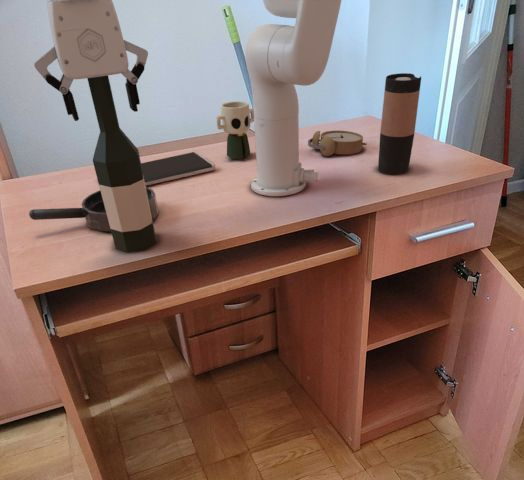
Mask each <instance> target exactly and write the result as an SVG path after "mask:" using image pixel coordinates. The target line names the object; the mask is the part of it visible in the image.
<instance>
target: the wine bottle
mask: <svg viewBox="0 0 524 480" xmlns="http://www.w3.org/2000/svg"><path fill="white" fill-rule="evenodd" d="M86 80H87V83H88V87H89V91H90V94H91V99H92V103H93V107H94V111H95V117H96V121H97V124H98V129H99V134H98V138H97V142H96V146H95V149H94V153H93V157H92V163H93V164H92V165H93V167H94V171H95V175H96V179H97V183H98V186H99V191H101V194H102V198H103V202H104V206H105V210H106V214H107V217H108V221H109V225H110V229H111V232H110V234H111V237H112V240H113V245H114V247H115V250H118V251H122V252H125V253H135V252H142V251H146V250H148V249H149V248H151V247H152V246H153V245H156V244H157V235H156V231H155V226H154V221H153V220H152V216H151V211H150V206H149V201H148V196H147V191H146V187H147V186H145V181H144V176H143V171H142V166H141V163H142V161H141V157H140V151H139V149H138V147H137V146H136V145H135V144H134V143H133V142H132V140H131V139H130V138H129V137H128V136H127V135H126V133H125V132H124V131H123V129H121V126H120V123H119V118H118V115H117V109H116V105H115V101H114V100H115V99H114V96H113V90H112V87H111V81H110V78H109V75H108V76H100V77H93V78H86Z"/></svg>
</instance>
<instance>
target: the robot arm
mask: <svg viewBox="0 0 524 480" xmlns="http://www.w3.org/2000/svg"><path fill="white" fill-rule="evenodd" d="M262 2H263V5H264V8H265V9H266V10H267V12H268V13H270V14H271V15H273V16H276V17H280V18H284V19H285V18H287V19H295V24H294V25H288V24H279V23H278V24H276V23H275V24H274V23H271V24H270V23H269V24H264V25H260V26H258V27H257V28H255V29H253V31H252V32H251V33H250V35H248V38H247V41H246V44H245V48H244V49H245V51H244V59H245V66H246V70H247V75H248V77H249V82H250V89H251V96H252V107H253V108H252V109H253V110H254V122H253V125H254V126H253V127H254V142H255V143H254V144H255V159H256V177H254V178H253V179H252V180H251V182H250V187H251V190H252V191H253V192H254V193H256V194H258V195H262V196H265V197H286V196H290V195H294V194H297V193H299V192H302V191H303V190H304V189H305V187H306V186H307V181H308V182H319V172H318V171H315V169H305V168H303V167H302V166H303V165H302V164H303V163H302V162H300V146H299V145H300V142H299V139H300V131H299V130H300V128H299V127H300V126H299V122H300V121H299V113H300V111H299V109H300V108H299V105H300V104H299V98H298V93H297V89H296V87H295V86H303V87H306V86H311V85H313V84H315V83H317V82H318V81H319V80H320V79H321V78H322V76H323V74H324V72H325V70H326V67H327V65H328V63H329V62H328V61H329V58H330V55H331V49H332V45H333V41H334V36H335V32H336V28H337V23H338V18H339V14H340V10H341V5H342V0H262ZM46 6H47V15H48V20H49V26H50V32H51V36H52V42H53V46H52V47H51V48H50V49H49V50H48V51H46V53H44V54H43V55H42V56H41V57H39V58H38V59H37V60H35V62H34V64H33V65H34V68H35V70H36V71H37V72H38V73H39V75H40V76H41V77H42V78H43V79H44V81H46V83H47V84H48V85H50V86H51V87H52V88H54V89H55V90H56V91H58V92H59V93H60V94H61V96H62V99H63V102H64V106H65V109H66V113H67V115H68V116H70V115H71V116H72V118H73V120H74V122H78V121H79V120H80V117H79V114H78V110H77V107H76V102H75V97H74V95H73V93H72V91H71V90H70V88H71V85H72V84H73V82H74V80H84V79H87V78H93V77H100V76H108V77H109V76H113V75H120V74H121V75H122V76H123V77H124V78H125V83H124V85H125V90H126V94H127V101H128V104H129V109H131V110H132V111H133V112H134V113H137V112H138V111H139V110H138V109H139V108H138V105H140V104H141V102H140V97H139V91H138V86H137V84H138V82H139V79H140V78H141V76H142V75H143V73H144V71H145V67H146V64H147V60H148V56H149V52H148V50H146V49H145V48H143V47H141V46H139V45H137V44H135V43H132V42H129V41H127V40H125V39H124V37H123V32H122V28H121V25H120V21H119V18H118V15H117V10H116V8H115V5H114V2H113V0H47V1H46ZM127 52H129V53H131V54H133V55H135V56H136V62H135V63H134V66H133V67H132V69H131V70H130V69H129V59H128V53H127ZM56 60H57V63H58V65H59V68H60V70H61V72H62V74H61V78H60V80H59V79H58V78H57V77H55V76H54V75H52V73H51V72H50V71H49V70H48V67H49V66H50V65H51V64H52V63H53V62H55V61H56Z"/></svg>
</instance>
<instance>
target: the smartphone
mask: <svg viewBox="0 0 524 480" xmlns="http://www.w3.org/2000/svg"><path fill="white" fill-rule="evenodd" d="M141 166H142V171H143V176H144V181H145V186H146V187H147V186H152V185H155V184H160V183H164V182H169V181H173V180H178V179H181V178H187V177H190V176H196V175H198V174H203V173H204V174H205V173H208V172H212V171H214V170H215V169H216V165H215V163H213V162H211V161H210V160H209V159H207V157H206V158H205V157H204V156H203V155H201V154H200V153H198V152H197V151H192V152H187V153H182V154H178V155H174V156H168V157H164V158H160V159H155V160H149V161H145V162H141Z"/></svg>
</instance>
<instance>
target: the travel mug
mask: <svg viewBox="0 0 524 480" xmlns="http://www.w3.org/2000/svg"><path fill="white" fill-rule="evenodd" d="M421 83H422V76H421V75H420V76H419V77H417V76H415V74H414V73H411V72H410V73H407V72H403V73H393V74H388V75H386V77H385V83H384V92H383V101H382V102H383V103H382V112H381V120H380V121H381V123H380V131H379V132H380V133H379V147H378V162H377V164H378V166H377V170H378V172H379V173H381V174H384V175H388V176H398V175H404V174H406V173H408V171H409V168H410V161H411V157H412V150H413V144H414V138H415V132H416V124H417V117H418V109H419V102H420V101H419V99H420V92H421Z"/></svg>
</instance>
